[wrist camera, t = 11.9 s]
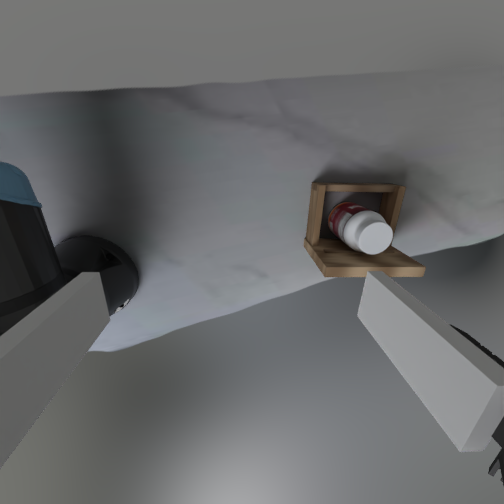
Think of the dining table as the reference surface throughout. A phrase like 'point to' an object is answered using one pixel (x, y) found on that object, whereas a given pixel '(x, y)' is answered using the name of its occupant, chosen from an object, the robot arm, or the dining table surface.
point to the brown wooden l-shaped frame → (345, 258)
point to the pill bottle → (360, 228)
